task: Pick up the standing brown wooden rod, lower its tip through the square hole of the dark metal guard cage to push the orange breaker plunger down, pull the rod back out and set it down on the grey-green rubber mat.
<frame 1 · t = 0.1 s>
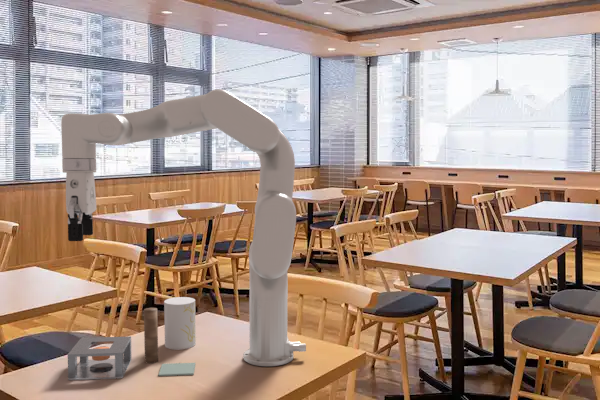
hand: (81, 237, 142), 31 cm above the table, fingers open, 9 cm apart
guard cage: (101, 369, 142), on the table
cup: (180, 345, 160), on the table
breaker plunger: (100, 353, 141), point 4 cm above the table, slide at 0.0 cm
brown wooden rod: (151, 360, 148), on the table
mat: (177, 370, 142), on the table
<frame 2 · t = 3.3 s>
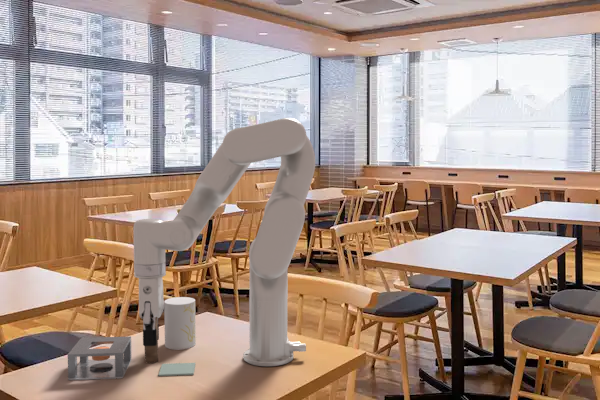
hand: (151, 342, 147), 5 cm above the table, fingers closed on brown wooden rod, 3 cm apart
brown wooden rod: (151, 360, 148), on the table, touching gripper
everything else where it was.
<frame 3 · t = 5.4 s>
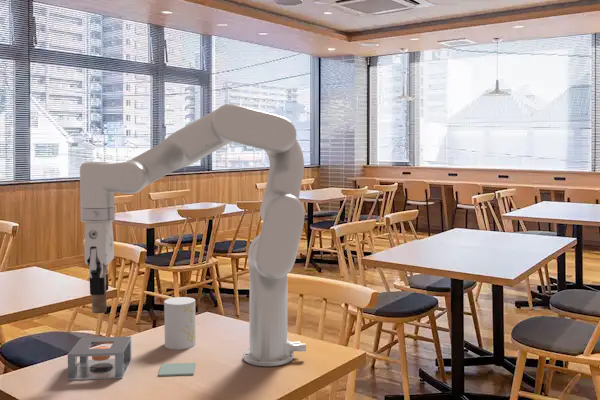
hand: (99, 291, 140), 19 cm above the table, fingers closed on brown wooden rod, 3 cm apart
brown wooden rod: (99, 311, 140), point 14 cm above the table, touching gripper
everything else where it was.
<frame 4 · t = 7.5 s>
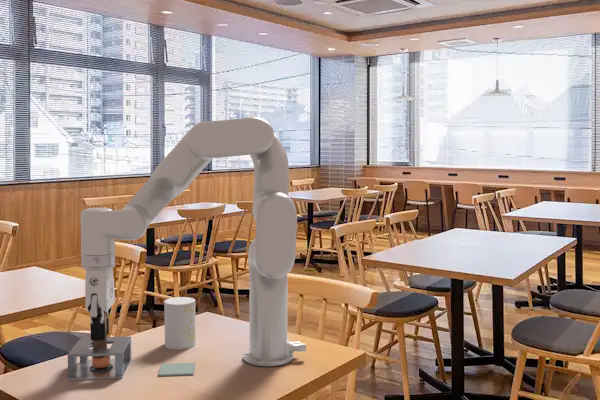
hand: (99, 336, 141), 8 cm above the table, fingers closed on brown wooden rod, 3 cm apart
breaker plunger: (101, 360, 141), point 2 cm above the table, slide at 1.7 cm, touching brown wooden rod
brown wooden rod: (100, 356, 141), point 3 cm above the table, touching breaker plunger, gripper
everything else where it was.
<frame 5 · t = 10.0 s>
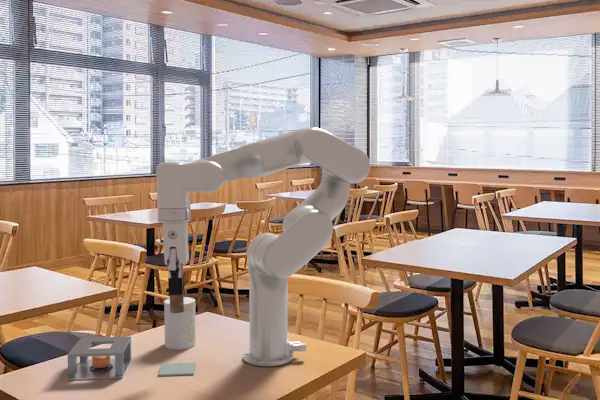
hand: (176, 291, 140), 19 cm above the table, fingers closed on brown wooden rod, 3 cm apart
breaker plunger: (101, 360, 141), point 2 cm above the table, slide at 1.7 cm
brown wooden rod: (176, 311, 141), point 14 cm above the table, touching gripper
everything else where it was.
when the fingers open (6 cm above the table, at t = 12.3 s): brown wooden rod drops 1 cm, resting on mat.
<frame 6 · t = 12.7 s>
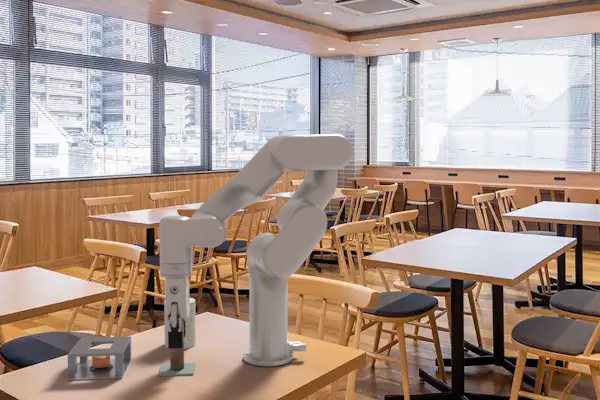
hand: (177, 341, 141), 7 cm above the table, fingers open, 7 cm apart
brown wooden rod: (177, 368, 142), resting on mat
everything else where it was.
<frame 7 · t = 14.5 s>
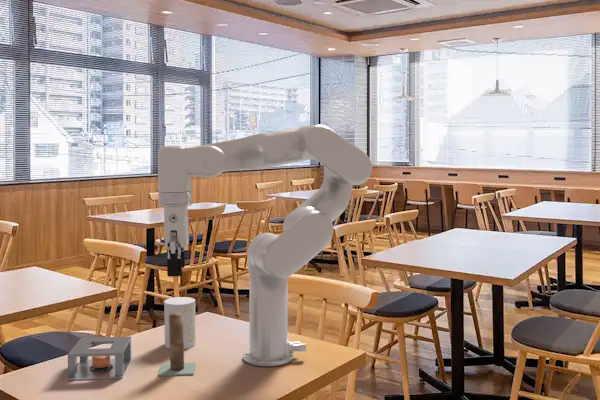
hand: (176, 271, 140), 24 cm above the table, fingers open, 9 cm apart
nothing on the table moved.
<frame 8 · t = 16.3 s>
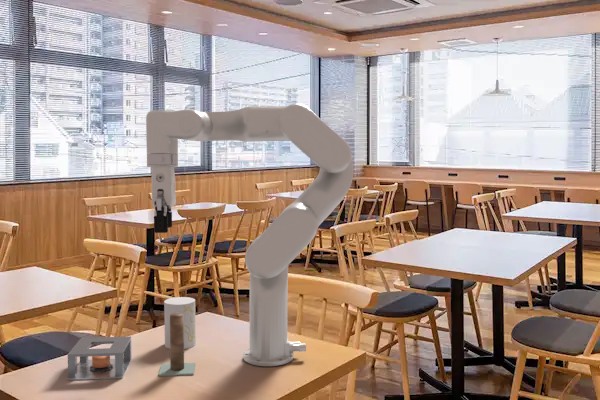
hand: (163, 229, 148), 32 cm above the table, fingers open, 9 cm apart
nothing on the table moved.
at the end: breaker plunger slide at 1.7 cm; brown wooden rod inside the target area on the mat (0.1 cm from its centre), point 0.4 cm above the mat's base; the gripper is holding nothing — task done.
